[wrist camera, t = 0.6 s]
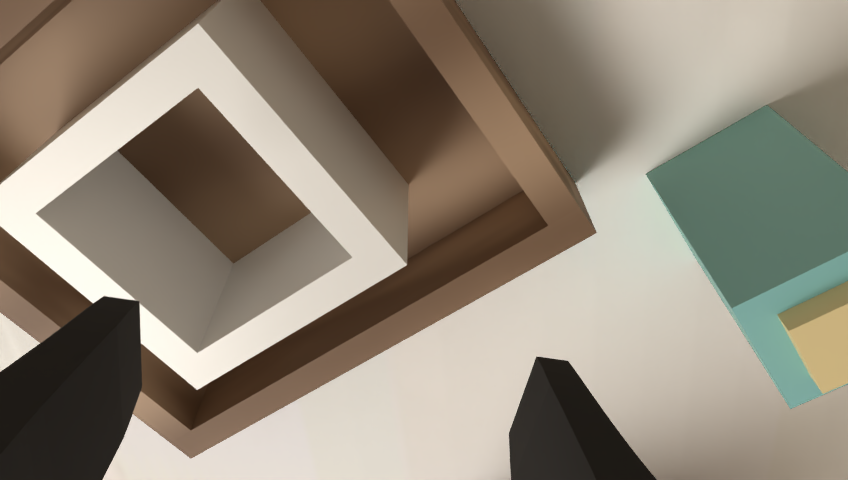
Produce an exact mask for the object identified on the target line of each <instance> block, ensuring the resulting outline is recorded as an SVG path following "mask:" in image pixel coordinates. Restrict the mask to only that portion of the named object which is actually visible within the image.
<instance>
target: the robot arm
mask: <svg viewBox="0 0 848 480" xmlns="http://www.w3.org/2000/svg"><path fill="white" fill-rule="evenodd" d="M141 389H142V364H141V333H140V303H139V301H136V300H129V299H121V298H114V297H107V296H103V297H102V298H100V299H99V300H97V301H96V302H94V303H93V304H92V305H90V306H89V307H88V308H86V309H85V310H84V311H82V312H81V313H80V314H78V315H77V316H76V317H75V318H73V319H72V320H71V321H69V322H68V323H67V324H65V325H64V326H63V327H61V328H60V329H59V330H57V331H56V332H55V333H53V334H52V335H51V336H49V337H48V338H47V339H45V340H44V341H43V342H41V343H40V344H39V345H37V346H36V347H35V348H33V349H32V350H30V351H29V352H28V353H26V354H25V355H23V356H22V357H21V358H19V359H18V360H16V361H15V362H14V363H12V364H11V365H10V366H8V367H7V368H5V369H4V370H2V371H1V372H0V480H102V479H103V477H104V475H105V473H106V471H107V469H108V467H109V465H110V464H111V462H112V460H113V458H114V456H115V454H116V452H117V450H118V448H119V446H120V444H121V442H122V440H123V438H124V435H125V432H126V430H127V427H128V425H129V422H130V419H131V417H132V414H133V411H134V408H135V406H136V403H137V400H138V397H139V394H140V392H141ZM509 444H510V466H511V480H656V478H655V477H654V476H653V475H652V474H651V472H650V471H649V470H648V469H647V468H646V466H645V465H644V464H643V463H642V461H641V460H640V459H639V458H638V456H637V455H636V454H635V453H634V451H633V450H632V449H631V447H630V446H629V445H628V444H627V442H626V441H625V440H624V438H623V437H622V436H621V434H620V433H619V432H618V430H617V429H616V428H615V426H614V425H613V423H612V422H611V421H610V419H609V418H608V417H607V415H606V414H605V412H604V411H603V410H602V408H601V407H600V405H599V404H598V403H597V401H596V400H595V398H594V397H593V396H592V394H591V393H590V391H589V390H588V388H587V387H586V385H585V384H584V383H583V381H582V380H581V378H580V377H579V375H578V374H577V373H576V371H575V370H574V368H573V367H572V366H571V364H570V363H569V362H568V361H564V360H557V359H550V358H543V357H536V360H535V363H534V365H533V368H532V371H531V374H530V376H529V379H528V382H527V385H526V388H525V390H524V393H523V396H522V399H521V402H520V404H519V407H518V410H517V413H516V416H515V418H514V421H513V424H512V427H511V429H510V432H509Z"/></svg>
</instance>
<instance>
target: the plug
mask: <svg viewBox="0 0 848 480" xmlns="http://www.w3.org/2000/svg"><path fill="white" fill-rule="evenodd" d="M646 175H647V177H648V179H649V180H650V182H651V184H652V185H653V187H654V189H655V190H656V192H657V194H658V195H659V197H660V199H661V201H662V202H663V204H664V206H665V207H666V209H667V211H668V212H669V214H670V216H671V217H672V219H673V221H674V223H675V224H676V226H677V228H678V229H679V231H680V233H681V234H682V236H683V238H684V239H685V241H686V243H687V244H688V246H689V248H690V250H691V251H692V253H693V255H694V256H695V258H696V260H697V261H698V263H699V264H700V266H701V268H702V269H703V271H704V272H705V274H706V276H707V277H708V279H709V280H710V282H711V284H712V285H713V287H714V288H715V290H716V291H717V293H718V295H719V296H720V298H721V299H722V301H723V303H724V304H725V306H726V307H727V309H728V311H729V312H730V314H731V315H732V317H733V318H734V320H735V322H736V323H737V325H738V326H739V328H740V330H741V331H742V333H743V334H744V336H745V338H746V339H747V341H748V342H749V344H750V345H751V347H752V349H753V350H754V352H755V353H756V355H757V357H758V358H759V360H760V361H761V363H762V365H763V366H764V368H765V369H766V371H767V373H768V374H769V376H770V377H771V379H772V380H773V382H774V384H775V385H776V387H777V388H778V390H779V392H780V393H781V395H782V396H783V398H784V400H785V401H786V403H787V404H788V406H789V407H790V409H792V408H794V407H796V406H799V405H801V404H803V403H805V402H808V401H810V400H812V399H815V398H817V397H819V396H822V395H824V394H826V393H829V392H831V391H833V390H836V389H838V388H840V387H843V386H845V385H847V384H848V172H847V171H846V170H845V169H843V168H842V167H841V166H840V165H839V164H837V163H836V162H835V161H834V160H833V159H831V158H830V157H829V156H828V155H827V154H825V153H824V152H823V151H822V150H821V149H819V148H818V147H817V146H816V145H815V144H813V143H812V142H811V141H810V140H809V139H807V138H806V137H805V136H804V135H803V134H801V133H800V132H799V131H798V130H797V129H795V128H794V127H793V126H792V125H791V124H789V123H788V122H787V121H786V120H785V119H783V118H782V117H781V116H780V115H779V114H777V113H776V112H775V111H774V110H772V109H771V108H770V107H769V106H768V105H766V106H764V107H762V108H761V109H759V110H757V111H755V112H754V113H752V114H750V115H748V116H747V117H745V118H743V119H741V120H740V121H738V122H736V123H734V124H733V125H731V126H729V127H727V128H726V129H724V130H722V131H720V132H719V133H717V134H715V135H713V136H712V137H710V138H708V139H706V140H705V141H703V142H701V143H699V144H698V145H696V146H694V147H692V148H691V149H689V150H687V151H685V152H684V153H682V154H680V155H678V156H677V157H675V158H673V159H671V160H669V161H668V162H666V163H664V164H662V165H661V166H659V167H657V168H655V169H654V170H652V171H650V172H648V173H647V174H646Z"/></svg>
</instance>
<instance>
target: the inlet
mask: <svg viewBox="0 0 848 480" xmlns="http://www.w3.org/2000/svg"><path fill="white" fill-rule="evenodd" d="M197 88H199V89H200V90H201V91H202V93H203V94H204V95H205V96H206V97H207V98H208V99H209V100H210V101H211V102H212V103H213V105H214V106H215V107H216V108H217V109H218V110H219V111H220V112H221V113H222V114H223V116H224V117H225V118H226V119H227V120H228V121H229V122H230V123H231V124H232V125H233V127H234V128H235V129H236V130H237V131H238V132H239V133H240V134H241V135H242V136H243V138H244V139H245V140H246V141H247V142H248V143H249V144H250V145H251V146H252V147H253V149H254V150H255V151H256V152H257V153H258V154H259V155H260V156H261V157H262V158H263V160H264V161H265V162H266V163H267V164H268V165H269V166H270V167H271V168H272V169H273V171H274V172H275V173H276V174H277V175H278V176H279V177H280V178H281V179H282V180H283V182H284V183H285V184H286V185H287V186H288V187H289V188H290V189H291V190H292V191H293V193H294V194H295V195H296V196H297V197H298V198H299V199H300V200H301V201H302V202H303V203H304V205H305V206H306V207H307V208H308V209H309V210H310V211H311V213H310V214H308V215H307V216H305V217H304V218H302V219H301V220H299V221H298V222H296V223H295V224H293V225H291V226H290V227H288V228H287V229H285V230H284V231H282V232H281V233H279V234H278V235H276V236H275V237H273V238H272V239H270V240H269V241H267V242H266V243H264V244H263V245H261V246H259V247H258V248H256V249H255V250H253V251H252V252H250V253H249V254H247V255H246V256H244V257H243V258H241V259H240V260H238V261H237V262H235V263H234V264H233V263H232V262H231V261H230V260H229V259H228V258H227V257H226V256H225V255H224V254H223V253H222V252H221V251H220V250H219V249H218V248H217V247H216V246H215V245H214V244H213V243H212V242H211V241H210V240H209V239H208V238H207V237H206V236H205V235H204V234H203V233H202V232H201V231H200V230H198V229H197V228H196V227H195V226H194V225H193V224H192V223H191V222H190V221H189V220H188V219H187V218H186V217H185V216H184V215H183V214H182V213H181V212H180V211H179V210H178V209H177V208H176V207H175V206H174V205H173V204H172V203H171V202H170V201H169V200H168V199H167V198H166V197H165V196H164V195H163V194H162V193H160V192H159V191H158V190H157V189H156V188H155V187H154V186H153V185H152V184H151V183H150V182H149V181H148V180H147V179H146V178H145V177H144V176H143V175H142V174H141V173H140V172H139V171H138V170H137V169H136V168H135V167H134V166H133V165H132V164H131V163H130V162H129V161H128V160H127V159H126V158H125V157H124V156H123V155H121V154H120V153H119V152H118V151H117V150H118V149H119V148H121V147H122V146H123V145H125V144H126V143H127V142H128V141H130V140H131V139H132V138H134V137H135V136H136V135H138V134H139V133H140V132H141V131H143V130H144V129H145V128H147V127H148V126H149V125H150V124H152V123H153V122H154V121H156V120H157V119H158V118H159V117H161V116H162V115H163V114H165V113H166V112H167V111H169V110H170V109H171V108H172V107H174V106H175V105H176V104H178V103H179V102H180V101H181V100H183V99H184V98H185V97H187V96H188V95H189V94H190V93H192V92H193V91H194V90H196V89H197ZM408 191H409V185H408V183H407V182H406V181H405V180H404V179H403V177H402V176H401V175H400V174H399V172H398V171H397V170H396V169H395V167H394V166H393V165H392V164H391V162H390V161H389V160H388V159H387V157H386V156H385V155H384V154H383V152H382V151H381V150H380V149H379V147H378V146H377V145H376V144H375V142H374V141H373V140H372V139H371V137H370V136H369V135H368V134H367V132H366V131H365V130H364V129H363V128H362V126H361V125H360V124H359V123H358V121H357V120H356V119H355V118H354V116H353V115H352V114H351V113H350V111H349V110H348V109H347V108H346V106H345V105H344V104H343V103H342V101H341V100H340V99H339V98H338V96H337V95H336V94H335V93H334V91H333V90H332V89H331V88H330V86H329V85H328V84H327V83H326V81H325V80H324V79H323V78H322V76H321V75H320V74H319V73H318V72H317V70H316V69H315V68H314V67H313V65H312V64H311V63H310V62H309V60H308V59H307V58H306V57H305V55H304V54H303V53H302V52H301V50H300V49H299V48H298V47H297V45H296V44H295V43H294V42H293V40H292V39H291V38H290V37H289V35H288V34H287V33H286V32H285V30H284V29H283V28H282V27H281V25H280V24H279V23H278V22H277V21H276V19H275V18H274V17H273V16H272V14H271V13H270V12H269V11H268V9H267V8H266V7H265V6H264V4H263V3H262V2H261V1H260V0H218V1H217V2H215V3H214V4H213V5H212V6H211V7H209V8H208V9H207V10H206V11H204V12H203V13H202V14H201V15H199V16H198V17H197V18H196V19H195V20H193V21H192V22H191V23H190V24H188V25H187V26H186V27H185V28H184V29H182V30H181V31H180V32H179V33H177V34H176V35H175V36H174V37H173V38H171V39H170V40H169V41H168V42H166V43H165V44H164V45H163V46H161V47H160V48H159V49H158V50H157V51H155V52H154V53H153V54H152V55H150V56H149V57H148V58H147V59H146V60H144V61H143V62H142V63H141V64H139V65H138V66H137V67H136V68H135V69H133V70H132V71H131V72H130V73H128V74H127V75H126V76H125V77H124V78H122V79H121V80H120V81H119V82H117V83H116V84H115V85H114V86H112V87H111V88H110V89H109V90H108V91H106V92H105V93H104V94H103V95H101V96H100V97H99V98H98V99H97V100H95V101H94V102H93V103H92V104H90V105H89V106H88V107H87V108H86V109H84V110H83V111H82V112H81V113H79V114H78V115H77V116H76V117H75V118H73V119H72V120H71V121H70V122H68V123H67V124H66V125H65V126H63V127H62V128H61V129H60V130H59V131H57V132H56V133H55V134H54V135H53V136H52V137H51V138H49V139H48V140H47V141H46V142H45V143H44V144H43V145H42V146H40V147H39V148H38V149H37V150H36V151H35V152H34V153H33V154H31V155H30V156H29V157H28V158H27V159H26V160H25V161H24V162H22V163H21V164H20V165H19V166H18V167H17V168H16V169H15V170H14V171H12V172H11V173H10V174H9V175H8V176H7V177H6V178H5V179H3V180H2V181H1V182H0V226H1V227H2V228H3V229H4V230H5V231H7V232H8V233H9V234H10V235H12V236H13V237H14V238H15V239H16V240H18V241H19V242H20V243H21V244H22V245H24V246H25V247H26V248H27V249H28V250H30V251H31V252H32V253H33V254H34V255H36V256H37V257H38V258H39V259H40V260H42V261H43V262H44V263H45V264H46V265H48V266H49V267H50V268H51V269H52V270H54V271H55V272H56V273H57V274H58V275H60V276H61V277H62V278H63V279H64V280H66V281H67V282H68V283H69V284H70V285H72V286H73V287H74V288H75V289H76V290H78V291H79V292H80V293H81V294H82V295H84V296H85V297H86V298H87V299H88V300H90V301H91V302H92V303H94V302H96V301H97V300H99V299H100V298H102V297H103V296H107V297H114V298H121V299H129V300H136V301H139V303H140V333H141V344H143V345H144V346H145V347H146V348H147V349H149V350H150V351H151V352H152V353H153V354H155V355H156V356H157V357H158V358H159V359H161V360H162V361H163V362H164V363H165V364H167V365H168V366H169V367H170V368H171V369H173V370H174V371H175V372H176V373H177V374H179V375H180V376H181V377H182V378H183V379H185V380H186V381H187V382H188V383H189V384H191V385H192V386H193V387H194V388H195V389H197V390H198V389H200V388H201V387H203V386H205V385H206V384H208V383H210V382H211V381H213V380H215V379H216V378H218V377H220V376H222V375H223V374H225V373H227V372H228V371H230V370H232V369H233V368H235V367H237V366H238V365H240V364H242V363H243V362H245V361H247V360H248V359H250V358H252V357H253V356H255V355H257V354H258V353H260V352H262V351H264V350H265V349H267V348H269V347H270V346H272V345H274V344H275V343H277V342H279V341H280V340H282V339H284V338H285V337H287V336H289V335H290V334H292V333H294V332H295V331H297V330H299V329H300V328H302V327H304V326H306V325H307V324H309V323H311V322H312V321H314V320H316V319H317V318H319V317H321V316H322V315H324V314H326V313H327V312H329V311H331V310H332V309H334V308H336V307H337V306H339V305H341V304H343V303H344V302H346V301H348V300H349V299H351V298H353V297H354V296H356V295H358V294H359V293H361V292H363V291H364V290H366V289H368V288H369V287H371V286H373V285H374V284H376V283H378V282H379V281H381V280H383V279H385V278H386V277H388V276H390V275H391V274H393V273H395V272H396V271H398V270H400V269H401V268H403V267H405V266H406V265H407V248H408Z"/></svg>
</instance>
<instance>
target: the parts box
mask: <svg viewBox="0 0 848 480" xmlns="http://www.w3.org/2000/svg"><path fill="white" fill-rule="evenodd" d="M217 1H218V0H0V182H1V181H2V180H3V179H5V178H6V177H7V176H8V175H9V174H10V173H11V172H12V171H14V170H15V169H16V168H17V167H18V166H19V165H20V164H21V163H22V162H24V161H25V160H26V159H27V158H28V157H29V156H30V155H31V154H33V153H34V152H35V151H36V150H37V149H38V148H39V147H40V146H42V145H43V144H44V143H45V142H46V141H47V140H48V139H49V138H51V137H52V136H53V135H54V134H55V133H56V132H57V131H59V130H60V129H61V128H62V127H63V126H65V125H66V124H67V123H68V122H70V121H71V120H72V119H73V118H75V117H76V116H77V115H78V114H79V113H81V112H82V111H83V110H84V109H86V108H87V107H88V106H89V105H90V104H92V103H93V102H94V101H95V100H97V99H98V98H99V97H100V96H101V95H103V94H104V93H105V92H106V91H108V90H109V89H110V88H111V87H112V86H114V85H115V84H116V83H117V82H119V81H120V80H121V79H122V78H124V77H125V76H126V75H127V74H128V73H130V72H131V71H132V70H133V69H135V68H136V67H137V66H138V65H139V64H141V63H142V62H143V61H144V60H146V59H147V58H148V57H149V56H150V55H152V54H153V53H154V52H155V51H157V50H158V49H159V48H160V47H161V46H163V45H164V44H165V43H166V42H168V41H169V40H170V39H171V38H173V37H174V36H175V35H176V34H177V33H179V32H180V31H181V30H182V29H184V28H185V27H186V26H187V25H188V24H190V23H191V22H192V21H193V20H195V19H196V18H197V17H198V16H199V15H201V14H202V13H203V12H204V11H206V10H207V9H208V8H209V7H211V6H212V5H213V4H214V3H215V2H217ZM260 1H261V2H262V3H263V4H264V6H265V7H266V8H267V9H268V11H269V12H270V13H271V14H272V16H273V17H274V18H275V19H276V21H277V22H278V23H279V24H280V25H281V27H282V28H283V29H284V30H285V32H286V33H287V34H288V35H289V37H290V38H291V39H292V40H293V42H294V43H295V44H296V45H297V47H298V48H299V49H300V50H301V52H302V53H303V54H304V55H305V57H306V58H307V59H308V60H309V62H310V63H311V64H312V65H313V67H314V68H315V69H316V70H317V72H318V73H319V74H320V75H321V76H322V78H323V79H324V80H325V81H326V83H327V84H328V85H329V86H330V88H331V89H332V90H333V91H334V93H335V94H336V95H337V96H338V98H339V99H340V100H341V101H342V103H343V104H344V105H345V106H346V108H347V109H348V110H349V111H350V113H351V114H352V115H353V116H354V118H355V119H356V120H357V121H358V123H359V124H360V125H361V126H362V128H363V129H364V130H365V131H366V132H367V134H368V135H369V136H370V137H371V139H372V140H373V141H374V142H375V144H376V145H377V146H378V147H379V149H380V150H381V151H382V152H383V154H384V155H385V156H386V157H387V159H388V160H389V161H390V162H391V164H392V165H393V166H394V167H395V169H396V170H397V171H398V172H399V174H400V175H401V176H402V177H403V179H404V180H405V181H406V182H407V183H408V185H409V191H408V248H407V265H406V266H405V267H403V268H401V269H400V270H398V271H396V272H395V273H393V274H391V275H390V276H388V277H386V278H385V279H383V280H381V281H379V282H378V283H376V284H374V285H373V286H371V287H369V288H368V289H366V290H364V291H363V292H361V293H359V294H358V295H356V296H354V297H353V298H351V299H349V300H348V301H346V302H344V303H343V304H341V305H339V306H337V307H336V308H334V309H332V310H331V311H329V312H327V313H326V314H324V315H322V316H321V317H319V318H317V319H316V320H314V321H312V322H311V323H309V324H307V325H306V326H304V327H302V328H300V329H299V330H297V331H295V332H294V333H292V334H290V335H289V336H287V337H285V338H284V339H282V340H280V341H279V342H277V343H275V344H274V345H272V346H270V347H269V348H267V349H265V350H264V351H262V352H260V353H258V354H257V355H255V356H253V357H252V358H250V359H248V360H247V361H245V362H243V363H242V364H240V365H238V366H237V367H235V368H233V369H232V370H230V371H228V372H227V373H225V374H223V375H222V376H220V377H218V378H216V379H215V380H213V381H211V382H210V383H208V384H206V385H205V386H203V387H201V388H200V389H198V390H197V389H195V388H194V387H193V386H192V385H191V384H189V383H188V382H187V381H186V380H185V379H183V378H182V377H181V376H180V375H179V374H177V373H176V372H175V371H174V370H173V369H171V368H170V367H169V366H168V365H167V364H165V363H164V362H163V361H162V360H161V359H159V358H158V357H157V356H156V355H155V354H153V353H152V352H151V351H150V350H149V349H147V348H146V347H145V346H144V345H143V344H141V364H142V389H141V392H140V394H139V397H138V400H137V403H136V406H135V408H134V411H133V414H134V415H135V416H136V417H137V418H139V419H140V420H141V421H143V422H144V423H145V424H147V425H148V426H149V427H151V428H152V429H153V430H154V431H156V432H157V433H158V434H160V435H161V436H162V437H164V438H165V439H166V440H167V441H169V442H170V443H171V444H173V445H174V446H175V447H177V448H178V449H179V450H180V451H182V452H183V453H184V454H186V455H187V456H188V457H190V458H193V457H195V456H196V455H198V454H200V453H202V452H204V451H205V450H207V449H209V448H211V447H213V446H214V445H216V444H218V443H220V442H222V441H223V440H225V439H227V438H229V437H231V436H232V435H234V434H236V433H238V432H240V431H241V430H243V429H245V428H247V427H249V426H250V425H252V424H254V423H256V422H258V421H259V420H261V419H263V418H265V417H267V416H268V415H270V414H272V413H274V412H276V411H277V410H279V409H281V408H283V407H284V406H286V405H288V404H290V403H292V402H293V401H295V400H297V399H299V398H301V397H302V396H304V395H306V394H308V393H310V392H311V391H313V390H315V389H317V388H319V387H320V386H322V385H324V384H326V383H328V382H329V381H331V380H333V379H335V378H337V377H338V376H340V375H342V374H344V373H346V372H347V371H349V370H351V369H353V368H355V367H356V366H358V365H360V364H362V363H364V362H365V361H367V360H369V359H371V358H373V357H374V356H376V355H378V354H380V353H382V352H383V351H385V350H387V349H389V348H391V347H392V346H394V345H396V344H398V343H400V342H401V341H403V340H405V339H407V338H409V337H410V336H412V335H414V334H416V333H417V332H419V331H421V330H423V329H425V328H426V327H428V326H430V325H432V324H434V323H435V322H437V321H439V320H441V319H443V318H444V317H446V316H448V315H450V314H452V313H453V312H455V311H457V310H459V309H461V308H462V307H464V306H466V305H468V304H470V303H471V302H473V301H475V300H477V299H479V298H480V297H482V296H484V295H486V294H488V293H489V292H491V291H493V290H495V289H497V288H498V287H500V286H502V285H504V284H506V283H507V282H509V281H511V280H513V279H515V278H516V277H518V276H520V275H522V274H524V273H525V272H527V271H529V270H531V269H533V268H534V267H536V266H538V265H540V264H542V263H543V262H545V261H547V260H549V259H550V258H552V257H554V256H556V255H558V254H559V253H561V252H563V251H565V250H567V249H568V248H570V247H572V246H574V245H576V244H577V243H579V242H581V241H583V240H585V239H586V238H588V237H590V236H592V235H594V234H595V233H596V230H595V228H594V226H593V223H592V221H591V219H590V216H589V214H588V212H587V209H586V207H585V205H584V202H583V200H582V198H581V196H580V193H579V191H578V189H577V186H576V184H575V183H574V181H573V180H572V178H571V176H570V175H569V173H568V172H567V170H566V169H565V167H564V166H563V164H562V163H561V161H560V160H559V158H558V157H557V155H556V154H555V152H554V151H553V149H552V148H551V146H550V145H549V143H548V142H547V140H546V138H545V137H544V135H543V134H542V132H541V131H540V129H539V128H538V126H537V125H536V123H535V122H534V120H533V119H532V117H531V116H530V114H529V113H528V111H527V110H526V108H525V107H524V105H523V104H522V102H521V100H520V99H519V97H518V96H517V94H516V93H515V91H514V90H513V88H512V87H511V85H510V84H509V82H508V81H507V79H506V78H505V76H504V75H503V73H502V72H501V70H500V69H499V67H498V66H497V64H496V63H495V61H494V59H493V58H492V56H491V55H490V53H489V52H488V50H487V49H486V47H485V46H484V44H483V43H482V41H481V40H480V38H479V37H478V35H477V34H476V32H475V31H474V29H473V28H472V26H471V25H470V23H469V21H468V20H467V18H466V17H465V15H464V14H463V12H462V11H461V9H460V8H459V6H458V5H457V3H456V2H455V0H260ZM117 151H118V152H119V153H120V154H121V155H123V156H124V157H125V158H126V159H127V160H128V161H129V162H130V163H131V164H132V165H133V166H134V167H135V168H136V169H137V170H138V171H139V172H140V173H141V174H142V175H143V176H144V177H145V178H146V179H147V180H148V181H149V182H150V183H151V184H152V185H153V186H154V187H155V188H156V189H157V190H158V191H159V192H160V193H162V194H163V195H164V196H165V197H166V198H167V199H168V200H169V201H170V202H171V203H172V204H173V205H174V206H175V207H176V208H177V209H178V210H179V211H180V212H181V213H182V214H183V215H184V216H185V217H186V218H187V219H188V220H189V221H190V222H191V223H192V224H193V225H194V226H195V227H196V228H197V229H198V230H200V231H201V232H202V233H203V234H204V235H205V236H206V237H207V238H208V239H209V240H210V241H211V242H212V243H213V244H214V245H215V246H216V247H217V248H218V249H219V250H220V251H221V252H222V253H223V254H224V255H225V256H226V257H227V258H228V259H229V260H230V261H231V262H232V263H233V264H234V263H235V262H237V261H238V260H240V259H241V258H243V257H244V256H246V255H247V254H249V253H250V252H252V251H253V250H255V249H256V248H258V247H259V246H261V245H263V244H264V243H266V242H267V241H269V240H270V239H272V238H273V237H275V236H276V235H278V234H279V233H281V232H282V231H284V230H285V229H287V228H288V227H290V226H291V225H293V224H295V223H296V222H298V221H299V220H301V219H302V218H304V217H305V216H307V215H308V214H310V213H311V211H310V210H309V209H308V208H307V207H306V206H305V205H304V203H303V202H302V201H301V200H300V199H299V198H298V197H297V196H296V195H295V194H294V193H293V191H292V190H291V189H290V188H289V187H288V186H287V185H286V184H285V183H284V182H283V180H282V179H281V178H280V177H279V176H278V175H277V174H276V173H275V172H274V171H273V169H272V168H271V167H270V166H269V165H268V164H267V163H266V162H265V161H264V160H263V158H262V157H261V156H260V155H259V154H258V153H257V152H256V151H255V150H254V149H253V147H252V146H251V145H250V144H249V143H248V142H247V141H246V140H245V139H244V138H243V136H242V135H241V134H240V133H239V132H238V131H237V130H236V129H235V128H234V127H233V125H232V124H231V123H230V122H229V121H228V120H227V119H226V118H225V117H224V116H223V114H222V113H221V112H220V111H219V110H218V109H217V108H216V107H215V106H214V105H213V103H212V102H211V101H210V100H209V99H208V98H207V97H206V96H205V95H204V94H203V93H202V91H201V90H200V89H199V88H197V89H196V90H194V91H193V92H192V93H190V94H189V95H188V96H187V97H185V98H184V99H183V100H181V101H180V102H179V103H178V104H176V105H175V106H174V107H172V108H171V109H170V110H169V111H167V112H166V113H165V114H163V115H162V116H161V117H159V118H158V119H157V120H156V121H154V122H153V123H152V124H150V125H149V126H148V127H147V128H145V129H144V130H143V131H141V132H140V133H139V134H138V135H136V136H135V137H134V138H132V139H131V140H130V141H128V142H127V143H126V144H125V145H123V146H122V147H121V148H119V149H118V150H117ZM92 304H93V303H92V302H91V301H90V300H88V299H87V298H86V297H85V296H84V295H82V294H81V293H80V292H79V291H78V290H76V289H75V288H74V287H73V286H72V285H70V284H69V283H68V282H67V281H66V280H64V279H63V278H62V277H61V276H60V275H58V274H57V273H56V272H55V271H54V270H52V269H51V268H50V267H49V266H48V265H46V264H45V263H44V262H43V261H42V260H40V259H39V258H38V257H37V256H36V255H34V254H33V253H32V252H31V251H30V250H28V249H27V248H26V247H25V246H24V245H22V244H21V243H20V242H19V241H18V240H16V239H15V238H14V237H13V236H12V235H10V234H9V233H8V232H7V231H5V230H4V229H3V228H2V227H1V226H0V312H1V313H2V314H3V315H4V316H6V317H7V318H8V319H10V320H11V321H12V322H14V323H15V324H16V325H18V326H19V327H20V328H21V329H23V330H24V331H25V332H27V333H28V334H29V335H31V336H32V337H33V338H34V339H36V340H37V341H38V342H40V343H41V342H43V341H44V340H45V339H47V338H48V337H49V336H51V335H52V334H53V333H55V332H56V331H57V330H59V329H60V328H61V327H63V326H64V325H65V324H67V323H68V322H69V321H71V320H72V319H73V318H75V317H76V316H77V315H78V314H80V313H81V312H82V311H84V310H85V309H86V308H88V307H89V306H90V305H92Z"/></svg>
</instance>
